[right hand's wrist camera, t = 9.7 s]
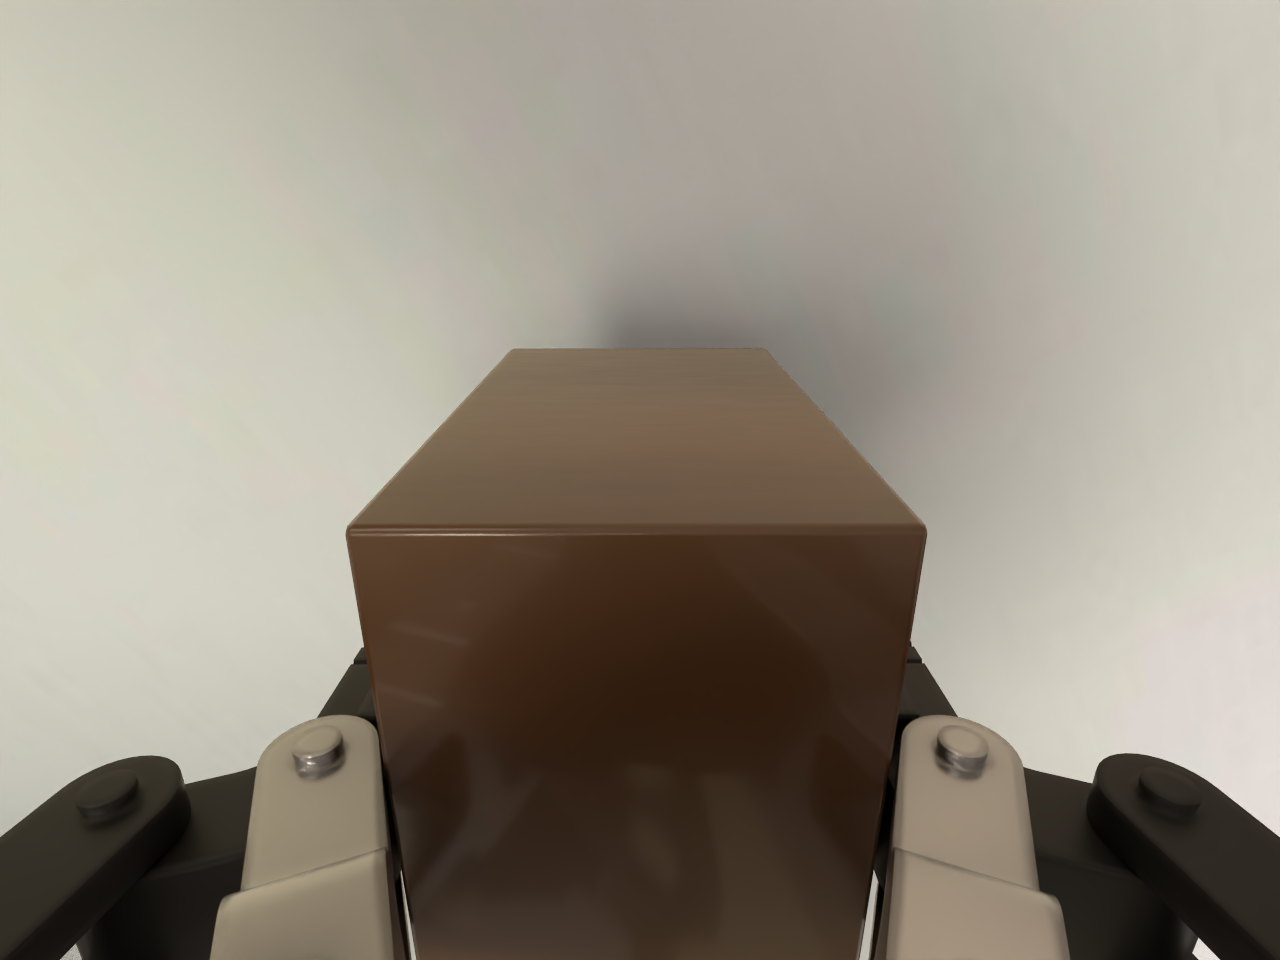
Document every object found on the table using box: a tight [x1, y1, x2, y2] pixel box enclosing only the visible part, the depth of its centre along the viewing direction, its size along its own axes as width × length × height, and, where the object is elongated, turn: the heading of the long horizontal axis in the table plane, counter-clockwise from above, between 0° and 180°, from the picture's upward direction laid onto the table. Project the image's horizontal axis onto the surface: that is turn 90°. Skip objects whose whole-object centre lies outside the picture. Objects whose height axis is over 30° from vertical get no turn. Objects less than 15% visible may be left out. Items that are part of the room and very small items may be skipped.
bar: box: [346, 348, 927, 960], centre depth 15 cm, size 23×5×9 cm, turn 0°
